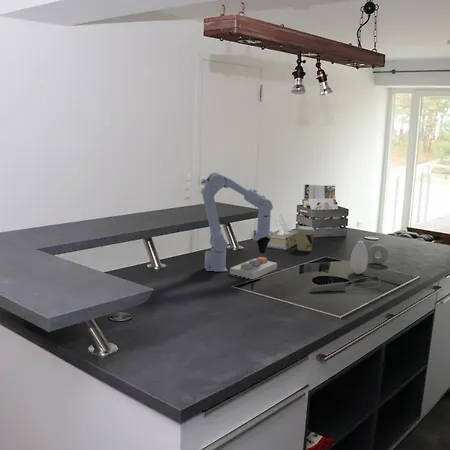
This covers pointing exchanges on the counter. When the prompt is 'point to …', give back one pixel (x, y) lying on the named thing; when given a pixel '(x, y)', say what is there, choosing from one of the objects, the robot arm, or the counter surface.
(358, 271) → the sauce bottle
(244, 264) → the sage green button
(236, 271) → the button panel
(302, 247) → the coffee cup
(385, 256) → the donut
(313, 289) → the kitchen whisk
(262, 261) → the terracotta button
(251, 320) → the counter surface
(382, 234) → the counter surface
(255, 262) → the slate blue button
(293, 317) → the counter surface
